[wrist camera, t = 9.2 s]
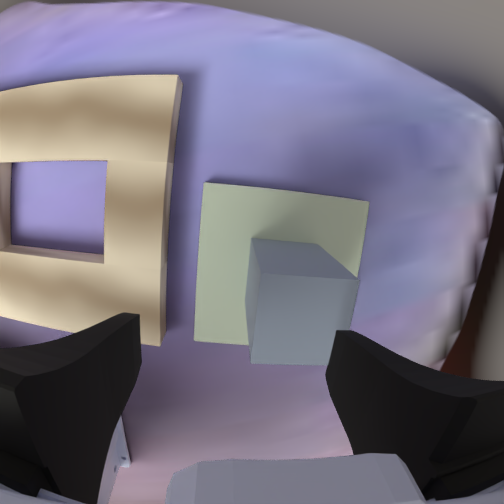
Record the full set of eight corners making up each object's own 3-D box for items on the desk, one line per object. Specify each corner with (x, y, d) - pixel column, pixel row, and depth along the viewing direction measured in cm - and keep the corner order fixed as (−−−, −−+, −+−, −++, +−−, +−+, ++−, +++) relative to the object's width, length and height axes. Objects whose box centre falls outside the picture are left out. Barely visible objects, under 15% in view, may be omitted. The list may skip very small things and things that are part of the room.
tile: (338, 342, 22) (341, 348, 21) (195, 335, 21) (193, 340, 20) (364, 200, 20) (369, 201, 19) (204, 182, 19) (203, 182, 18)
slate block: (307, 305, 20) (340, 365, 13) (244, 301, 20) (250, 363, 13) (317, 243, 19) (359, 279, 13) (251, 237, 19) (261, 272, 12)
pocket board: (166, 331, 21) (160, 346, 19) (-11, 300, 20) (-25, 309, 18) (183, 84, 17) (177, 74, 15) (-11, 101, 16) (-26, 98, 14)
